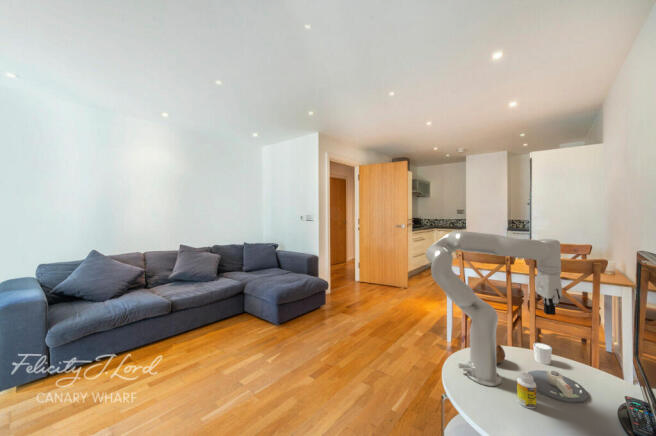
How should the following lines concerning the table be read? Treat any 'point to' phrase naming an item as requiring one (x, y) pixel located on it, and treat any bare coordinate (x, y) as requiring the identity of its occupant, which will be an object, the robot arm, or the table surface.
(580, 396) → the dial
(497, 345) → the onion
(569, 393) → the lever
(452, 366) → the table surface
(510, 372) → the table surface
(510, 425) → the table surface
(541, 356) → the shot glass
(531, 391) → the supplement bottle
